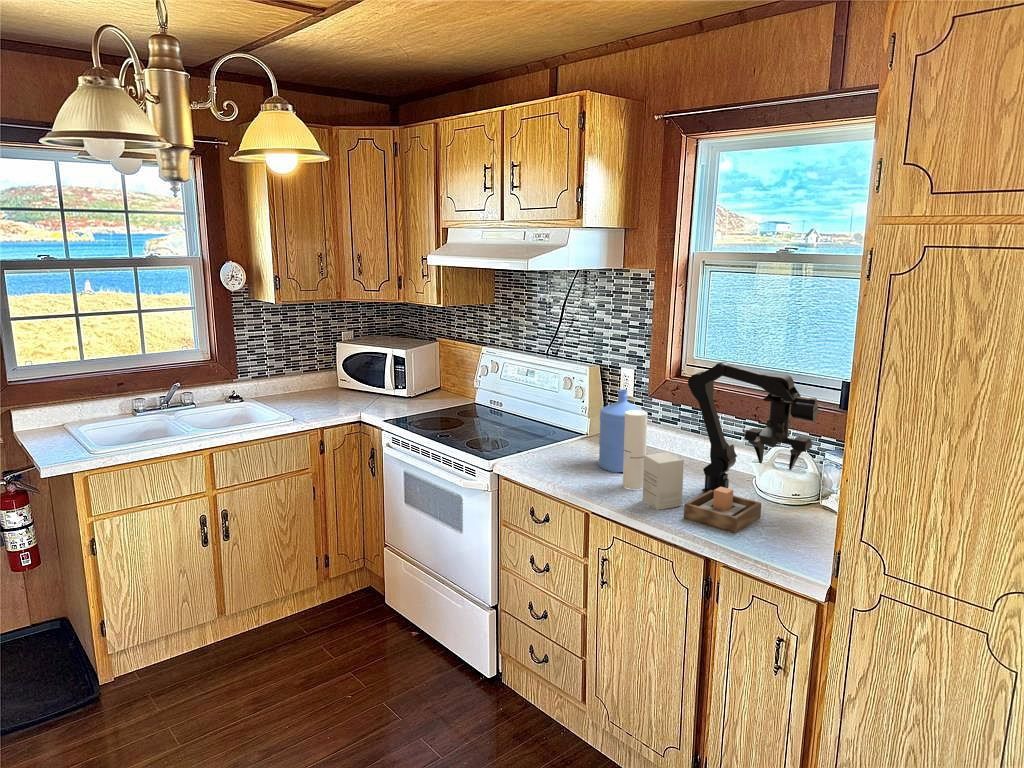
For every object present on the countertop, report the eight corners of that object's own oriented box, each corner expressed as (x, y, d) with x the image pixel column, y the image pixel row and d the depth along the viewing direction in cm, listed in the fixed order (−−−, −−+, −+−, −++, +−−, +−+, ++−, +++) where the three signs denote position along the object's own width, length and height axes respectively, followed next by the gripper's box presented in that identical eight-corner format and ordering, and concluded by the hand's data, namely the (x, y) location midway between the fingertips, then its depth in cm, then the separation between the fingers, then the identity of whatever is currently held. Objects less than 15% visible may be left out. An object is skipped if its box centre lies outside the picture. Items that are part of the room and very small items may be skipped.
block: (712, 516, 203) (714, 490, 201) (719, 512, 206) (720, 486, 204) (725, 519, 200) (726, 493, 198) (731, 515, 203) (733, 489, 201)
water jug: (613, 476, 239) (616, 396, 234) (590, 463, 253) (592, 388, 248) (651, 470, 246) (654, 392, 240) (626, 457, 260) (629, 384, 254)
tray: (683, 518, 203) (684, 503, 202) (710, 503, 214) (711, 489, 213) (735, 533, 192) (736, 518, 191) (760, 517, 203) (761, 502, 202)
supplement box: (666, 496, 220) (668, 451, 217) (682, 506, 212) (685, 459, 209) (641, 500, 217) (643, 454, 214) (656, 510, 209) (658, 462, 206)
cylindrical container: (631, 481, 234) (633, 409, 229) (649, 486, 229) (651, 412, 224) (618, 486, 229) (620, 412, 224) (636, 491, 224) (638, 416, 219)
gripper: (737, 416, 209) (734, 465, 212) (799, 427, 196) (795, 480, 199) (753, 409, 217) (750, 457, 220) (814, 420, 204) (810, 470, 207)
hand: (775, 466), depth 211 cm, fingers open, 9 cm apart
